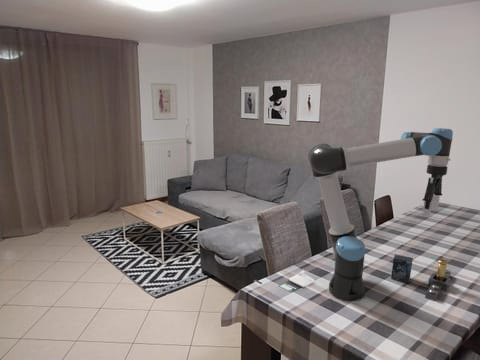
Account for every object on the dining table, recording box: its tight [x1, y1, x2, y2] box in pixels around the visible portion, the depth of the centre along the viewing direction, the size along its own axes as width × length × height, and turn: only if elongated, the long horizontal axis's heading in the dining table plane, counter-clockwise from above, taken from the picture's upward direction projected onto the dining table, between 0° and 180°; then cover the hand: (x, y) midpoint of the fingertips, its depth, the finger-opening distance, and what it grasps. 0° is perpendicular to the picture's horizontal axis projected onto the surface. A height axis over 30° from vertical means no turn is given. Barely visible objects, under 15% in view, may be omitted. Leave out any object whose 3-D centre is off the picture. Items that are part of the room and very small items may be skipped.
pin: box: [436, 258, 449, 282], centre depth 157 cm, size 4×4×12 cm
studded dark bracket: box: [424, 269, 452, 302], centre depth 157 cm, size 29×7×4 cm, turn 139°
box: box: [390, 253, 414, 284], centre depth 163 cm, size 8×6×11 cm
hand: (430, 212), depth 152 cm, fingers open, 13 cm apart
